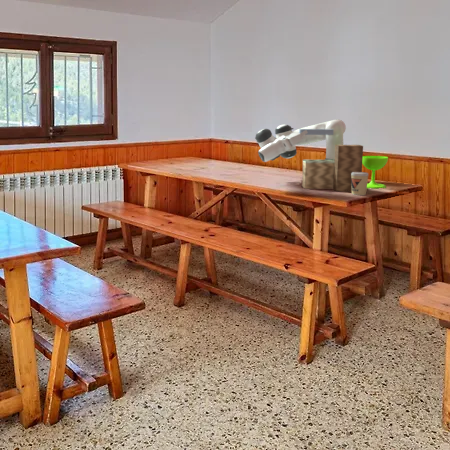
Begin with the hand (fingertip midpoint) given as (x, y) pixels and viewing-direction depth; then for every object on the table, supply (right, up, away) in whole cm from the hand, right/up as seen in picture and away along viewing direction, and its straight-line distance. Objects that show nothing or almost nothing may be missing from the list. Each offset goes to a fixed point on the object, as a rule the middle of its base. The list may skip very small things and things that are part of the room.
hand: (306, 131), depth 343 cm
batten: (+6, -2, +1) cm, 6 cm away
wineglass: (+43, -31, +22) cm, 57 cm away
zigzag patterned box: (+13, -31, +18) cm, 38 cm away
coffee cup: (+28, -37, -7) cm, 47 cm away
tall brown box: (+25, -33, +7) cm, 42 cm away
